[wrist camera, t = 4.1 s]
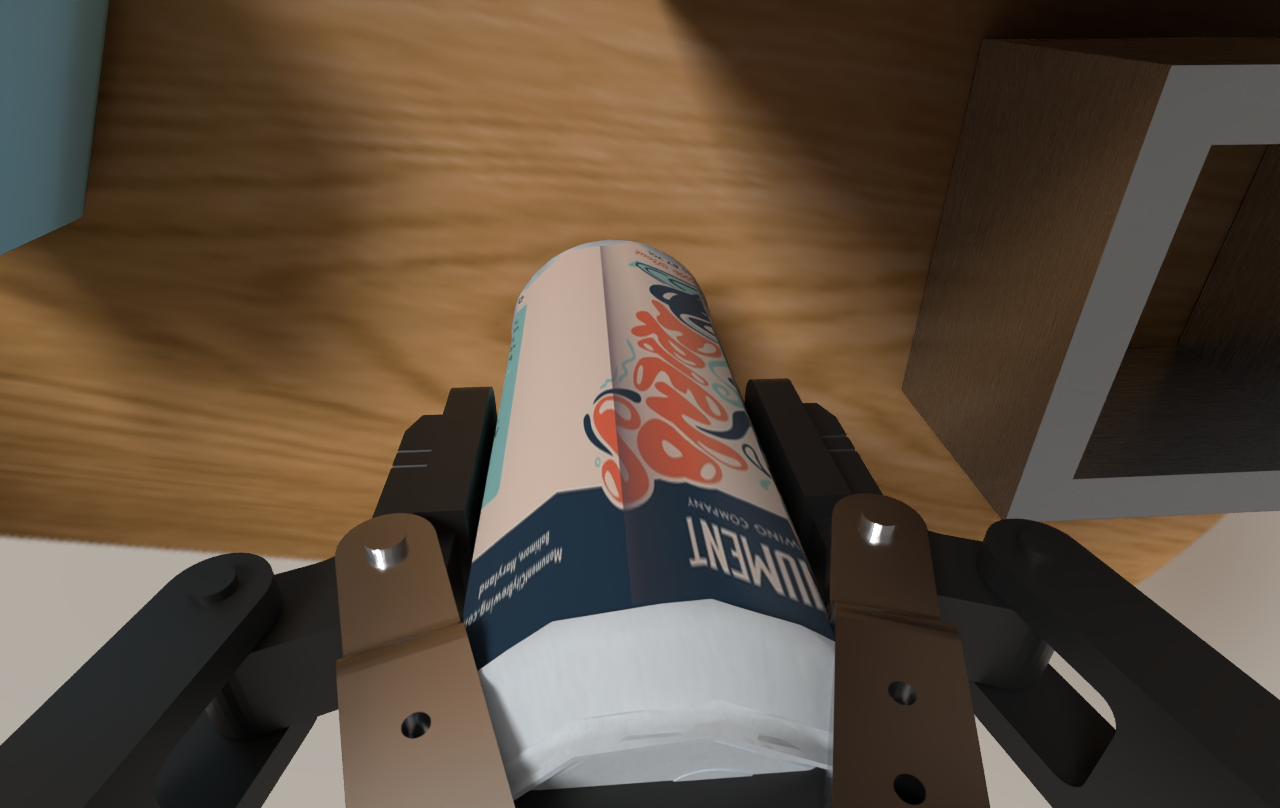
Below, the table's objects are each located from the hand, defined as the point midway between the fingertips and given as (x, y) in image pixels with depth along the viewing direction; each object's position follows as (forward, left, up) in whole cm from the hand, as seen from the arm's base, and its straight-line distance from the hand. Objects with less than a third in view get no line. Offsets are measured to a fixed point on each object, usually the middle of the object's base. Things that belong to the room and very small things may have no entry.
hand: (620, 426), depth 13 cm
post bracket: (+13, +1, -6) cm, 15 cm away
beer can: (0, 0, -5) cm, 5 cm away
